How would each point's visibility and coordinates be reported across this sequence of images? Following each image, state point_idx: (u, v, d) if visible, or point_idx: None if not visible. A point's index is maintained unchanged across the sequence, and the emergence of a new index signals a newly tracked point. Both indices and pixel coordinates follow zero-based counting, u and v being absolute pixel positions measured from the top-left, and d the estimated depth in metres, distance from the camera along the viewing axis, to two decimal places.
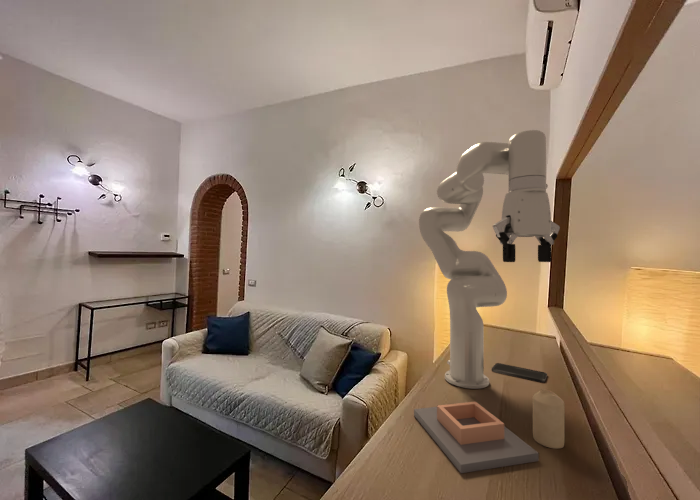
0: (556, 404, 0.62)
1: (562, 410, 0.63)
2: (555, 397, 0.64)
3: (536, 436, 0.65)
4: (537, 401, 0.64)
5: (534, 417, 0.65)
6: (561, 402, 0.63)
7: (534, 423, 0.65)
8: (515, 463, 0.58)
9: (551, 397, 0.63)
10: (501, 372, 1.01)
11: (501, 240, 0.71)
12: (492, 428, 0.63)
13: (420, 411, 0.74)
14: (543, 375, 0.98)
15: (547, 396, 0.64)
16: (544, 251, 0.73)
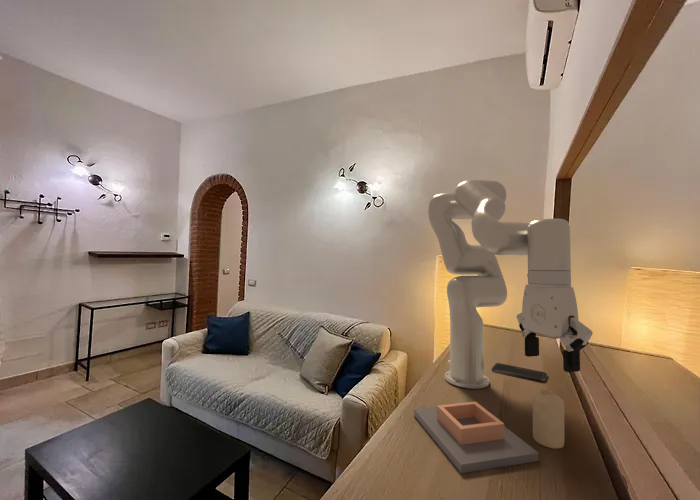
0: (556, 404, 0.62)
1: (562, 410, 0.63)
2: (555, 397, 0.64)
3: (536, 436, 0.65)
4: (537, 401, 0.64)
5: (534, 417, 0.65)
6: (561, 402, 0.63)
7: (534, 423, 0.65)
8: (515, 463, 0.58)
9: (551, 397, 0.63)
10: (501, 372, 1.01)
11: (579, 348, 0.58)
12: (492, 428, 0.63)
13: (420, 411, 0.74)
14: (543, 375, 0.98)
15: (547, 396, 0.64)
16: (534, 345, 0.69)
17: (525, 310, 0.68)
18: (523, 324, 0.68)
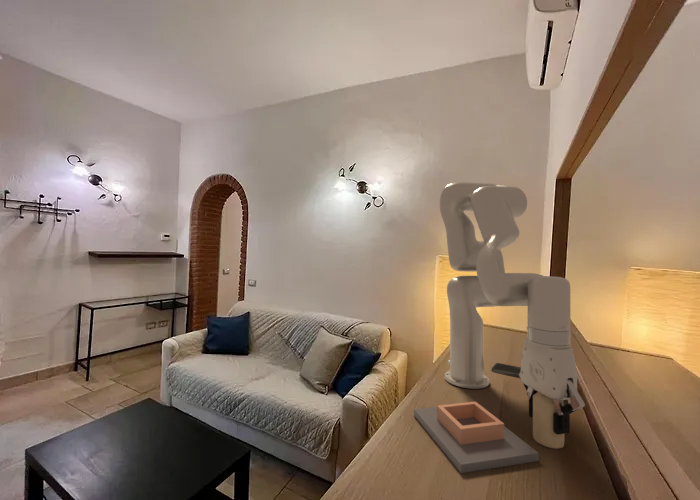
0: None
1: None
2: None
3: (536, 436, 0.65)
4: (537, 401, 0.64)
5: (534, 417, 0.65)
6: (561, 402, 0.63)
7: (534, 423, 0.65)
8: (515, 463, 0.58)
9: None
10: (501, 372, 1.01)
11: (568, 412, 0.60)
12: (492, 428, 0.63)
13: (420, 411, 0.74)
14: None
15: None
16: None
17: (524, 364, 0.68)
18: (522, 378, 0.68)
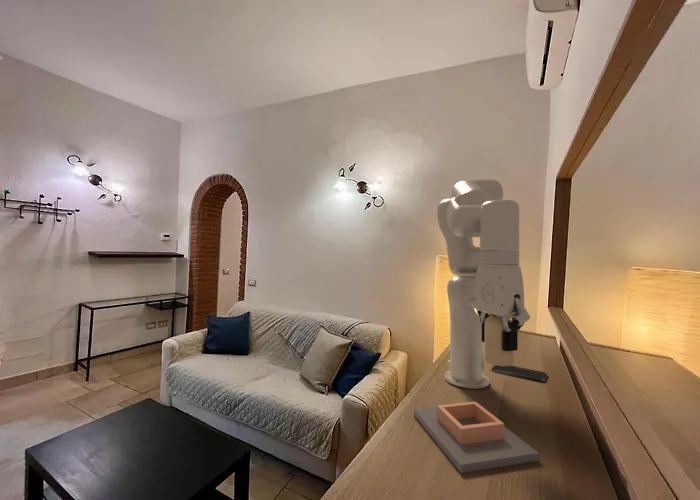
0: None
1: None
2: None
3: (487, 357, 0.66)
4: (488, 322, 0.65)
5: (486, 339, 0.66)
6: None
7: (485, 345, 0.66)
8: (515, 463, 0.58)
9: (501, 317, 0.65)
10: (501, 372, 1.01)
11: (515, 328, 0.62)
12: (492, 428, 0.63)
13: (420, 411, 0.74)
14: (543, 375, 0.98)
15: (497, 317, 0.65)
16: None
17: (477, 290, 0.69)
18: (475, 304, 0.70)
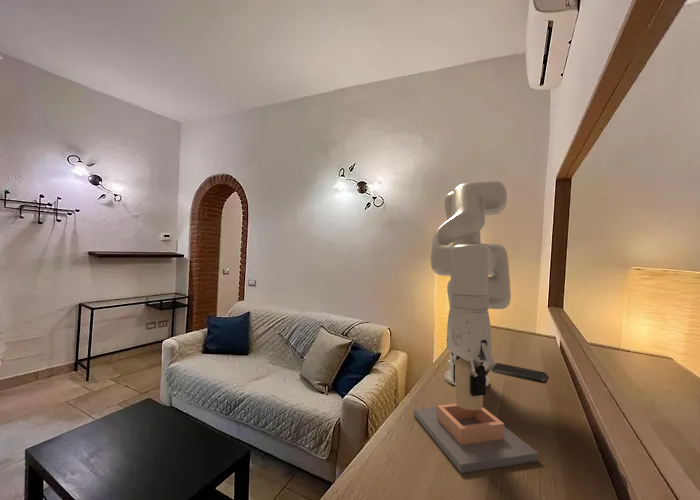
0: None
1: None
2: None
3: (456, 399, 0.66)
4: (457, 365, 0.66)
5: (455, 382, 0.67)
6: (479, 365, 0.65)
7: (455, 387, 0.67)
8: (515, 463, 0.58)
9: None
10: (501, 372, 1.01)
11: (482, 374, 0.62)
12: (492, 428, 0.63)
13: (420, 411, 0.74)
14: (543, 375, 0.98)
15: None
16: None
17: (449, 331, 0.70)
18: (447, 345, 0.70)
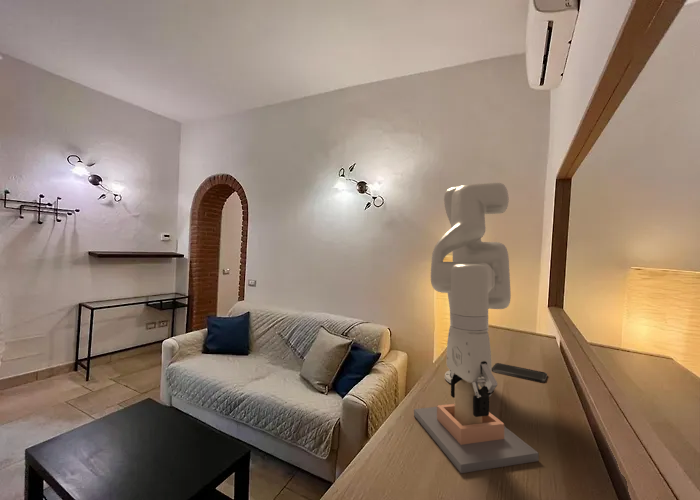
0: (473, 391, 0.65)
1: None
2: None
3: None
4: (457, 389, 0.66)
5: (455, 405, 0.67)
6: None
7: (455, 410, 0.67)
8: (515, 463, 0.58)
9: (469, 385, 0.65)
10: (501, 372, 1.01)
11: (485, 395, 0.61)
12: (492, 428, 0.63)
13: (420, 411, 0.74)
14: (543, 375, 0.98)
15: (466, 384, 0.66)
16: None
17: (449, 350, 0.70)
18: (447, 363, 0.70)
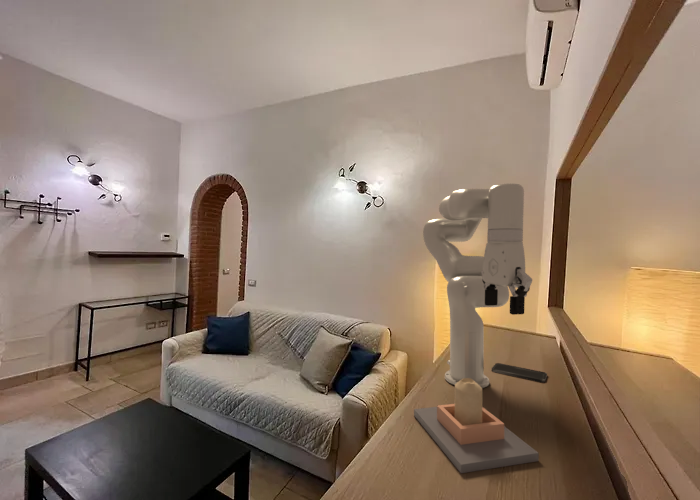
0: (473, 391, 0.65)
1: (479, 397, 0.65)
2: (473, 385, 0.66)
3: None
4: (457, 389, 0.66)
5: (455, 405, 0.67)
6: (479, 389, 0.65)
7: (455, 410, 0.67)
8: (515, 463, 0.58)
9: (469, 385, 0.65)
10: (501, 372, 1.01)
11: (522, 293, 0.68)
12: (492, 428, 0.63)
13: (420, 411, 0.74)
14: (543, 375, 0.98)
15: (466, 384, 0.66)
16: (493, 295, 0.80)
17: (485, 265, 0.78)
18: (483, 277, 0.79)
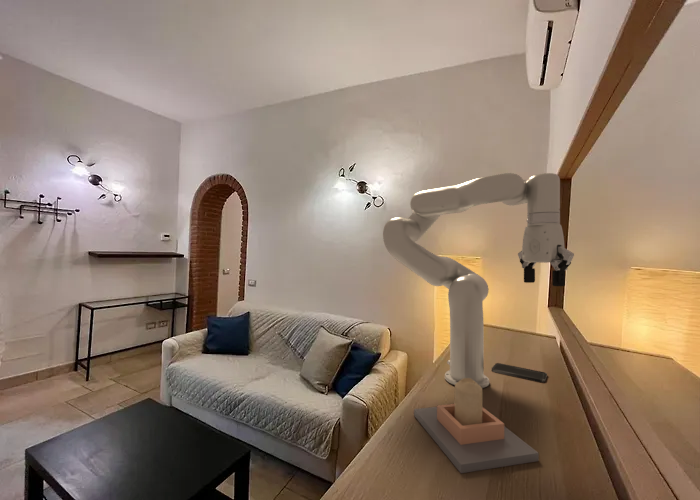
0: (473, 391, 0.65)
1: (479, 397, 0.65)
2: (473, 385, 0.66)
3: None
4: (457, 389, 0.66)
5: (455, 405, 0.67)
6: (479, 389, 0.65)
7: (455, 410, 0.67)
8: (515, 463, 0.58)
9: (469, 385, 0.65)
10: (501, 372, 1.01)
11: (564, 267, 0.79)
12: (492, 428, 0.63)
13: (420, 411, 0.74)
14: (543, 375, 0.98)
15: (466, 384, 0.66)
16: (531, 274, 0.89)
17: (525, 246, 0.88)
18: (523, 257, 0.89)
